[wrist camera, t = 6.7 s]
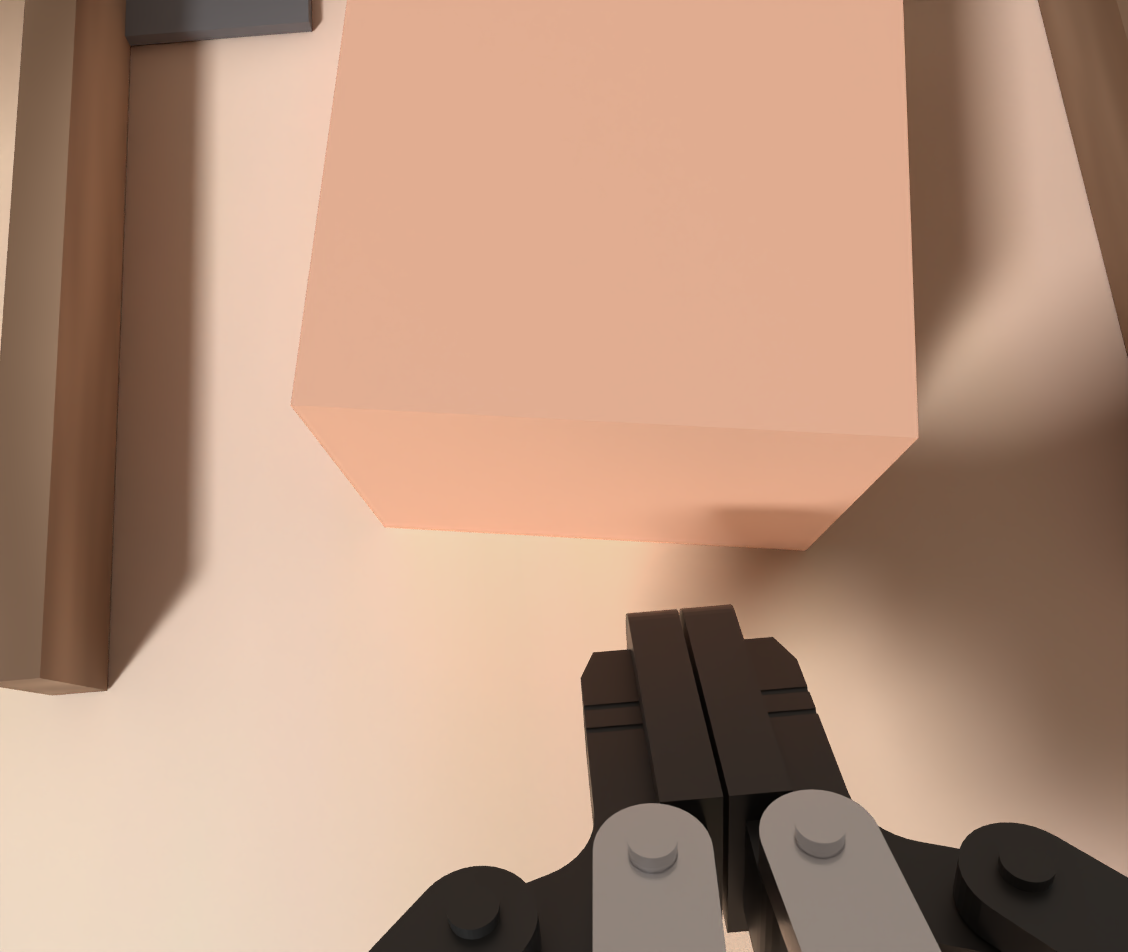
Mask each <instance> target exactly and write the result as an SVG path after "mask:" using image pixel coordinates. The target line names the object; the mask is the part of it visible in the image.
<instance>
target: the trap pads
mask: <svg viewBox="0 0 1128 952" xmlns="http://www.w3.org/2000/svg"><path fill="white" fill-rule="evenodd" d="M309 31H312V6H311V0H126V18H125V38H126V39H127V41H128V43H129V44H130V46H133V45H146V44H158V43H171V42H183V41H196V40H208V39H221V38H233V37H246V36H258V35H271V34H284V33H296V32H309Z"/></svg>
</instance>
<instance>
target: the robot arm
mask: <svg viewBox="0 0 1128 952" xmlns="http://www.w3.org/2000/svg"><path fill="white" fill-rule="evenodd" d="M626 636H627V650H617V651H606V652H594V653H593V654H592V656H591V658H590V660H589V662H588V664H587V666H586V668H585V670H584V672H583V674H582V677H581V688H582V701H583V715H584V728H585V741H586V754H587V766H588V776H589V786H590V797H591V807H592V818H593V832H592V834H591V837H590V839H589V841H588V843H587V845H586V846H585V848H584V849H583V850H582V852H581V853H580V854H579V855H578V856H577V857H576V858H575V859H574V860H572V861H571V862H570V863H569V864H567V865H566V866H564V867H563V868H561V869H559V870H557V871H555V872H553V873H551V874H549V875H546V876H543V877H541V878H538V879H536V880H533V881H531V882H528V883H525V882H524V881H523V880H522V879H521V878H519V877H518V876H516V875H515V874H513V873H511V872H509V871H507V870H505V869H501V868H497V867H490V866H473V867H468V868H463V869H460V870H457V871H454V872H452V873H450V874H448V875H446V876H444V877H442V878H441V879H439V880H438V881H436V882H435V883H434V884H433V885H432V886H430V887H429V888H428V889H427V890H426V891H425V892H424V893H423V894H422V896H421V897H420V898H419V899H418V900H417V901H416V902H415V903H414V904H413V905H412V906H411V907H410V908H409V909H408V910H407V911H406V912H405V914H404V915H403V916H402V917H401V918H400V919H399V920H398V921H397V922H396V923H395V924H394V925H393V926H392V927H391V928H390V929H389V930H388V932H387V933H386V934H385V935H384V936H383V937H382V938H381V939H380V940H379V941H378V942H377V943H376V944H375V945H374V946H373V947H372V948H371V950H370V951H369V952H726V947H725V939H724V931H723V923H722V910H723V914H724V919H725V924H726V928H727V933H730V932H741V931H749V934H750V938H751V943H752V947H753V951H754V952H1128V878H1127V877H1126V876H1124V875H1122V874H1120V873H1119V872H1117V871H1115V870H1114V869H1112V868H1110V867H1108V866H1107V865H1105V864H1103V863H1101V862H1100V861H1098V860H1096V859H1094V858H1093V857H1091V856H1089V855H1088V854H1086V853H1084V852H1082V851H1081V850H1079V849H1077V848H1075V847H1074V846H1072V845H1070V844H1069V843H1067V842H1065V841H1063V840H1062V839H1060V838H1058V837H1056V836H1054V835H1052V834H1050V833H1048V832H1046V831H1044V830H1041V829H1039V828H1036V827H1033V826H1029V825H1025V824H1018V823H995V824H989V825H986V826H983V827H980V828H978V829H976V830H974V831H973V832H972V833H971V834H969V835H968V836H967V837H966V839H965V840H964V841H963V843H962V845H961V847H960V849H957V848H951V847H946V846H940V845H935V844H929V843H923V842H918V841H914V840H910V839H906V838H903V837H900V836H897V835H894V834H892V833H890V832H888V831H886V830H884V829H882V828H881V827H879V826H878V825H877V823H876V822H875V820H874V819H873V817H872V816H871V815H870V814H869V813H868V812H867V811H866V810H865V809H864V808H863V807H862V806H860V805H859V804H858V803H856V802H854V801H853V800H852V799H851V797H850V795H849V793H848V791H847V788H846V786H845V783H844V780H843V778H842V775H841V773H840V770H839V767H838V765H837V762H836V760H835V757H834V754H833V752H832V749H831V747H830V744H829V741H828V739H827V736H826V734H825V731H824V729H823V726H822V723H821V721H820V718H819V716H818V714H816V708H815V705H814V703H813V700H812V697H811V695H810V692H808V690H807V684H806V682H805V679H804V677H803V674H802V671H801V669H800V666H799V664H798V661H797V659H796V658H795V657H794V656H793V655H792V654H791V653H789V652H788V651H787V650H786V649H785V648H784V647H783V646H782V645H781V644H780V643H779V642H778V641H777V640H776V639H774V638H773V637H768V638H756V639H745V640H744V638H743V635H742V632H741V629H740V626H739V623H738V620H737V617H736V614H735V611H734V608H733V606H732V605H720V606H708V607H696V608H684V609H680V612H679V613H678V611H677V609H675V610H663V611H651V612H639V613H627V614H626Z"/></svg>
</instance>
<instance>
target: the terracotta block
mask: <svg viewBox="0 0 1128 952" xmlns="http://www.w3.org/2000/svg"><path fill="white" fill-rule="evenodd" d="M291 406H292V408H293V409H294V410H295V412H296V413H297V414H298V415H299V417H300V418H301V419H302V421H303V422H304V423H305V424H306V426H307V427H308V428H309V430H310V431H311V432H312V434H313V435H314V436H315V437H316V439H317V440H318V441H319V443H320V444H321V445H322V446H323V448H324V449H325V450H326V452H327V453H328V454H329V456H330V457H331V458H332V459H333V461H334V462H335V463H336V465H337V466H338V467H339V469H340V470H341V471H342V472H343V474H344V475H345V476H346V478H347V479H348V480H349V481H350V483H351V484H352V485H353V487H354V488H355V489H356V491H357V492H358V493H359V494H360V496H361V497H362V498H363V500H364V501H365V502H366V504H367V505H368V506H369V507H370V509H371V510H372V511H373V513H374V514H375V515H376V516H377V518H378V519H379V520H380V522H381V523H382V524H383V526H384V527H387V528H405V529H423V530H441V531H460V532H478V533H496V534H514V535H532V536H550V537H568V538H586V539H604V540H622V541H640V542H658V543H676V544H694V545H712V546H730V547H748V548H766V549H785V550H803V551H806V550H807V549H808V548H809V547H810V546H811V545H812V544H813V543H814V542H815V541H816V540H817V539H818V538H819V537H820V536H821V535H822V534H823V533H824V532H825V531H826V530H827V529H828V528H829V527H830V526H831V525H832V524H833V523H834V522H835V521H836V520H837V519H838V518H839V517H840V516H841V515H842V514H843V513H844V512H845V511H846V510H847V509H848V508H849V507H850V506H851V505H852V504H853V503H854V502H855V501H856V500H857V499H858V498H859V497H860V496H861V495H862V494H863V493H864V492H865V491H866V490H867V489H868V488H869V487H870V486H871V485H872V484H873V483H874V482H875V481H876V480H877V479H878V478H879V477H880V476H881V475H882V474H883V473H884V472H885V471H886V470H887V469H888V468H889V467H890V466H891V465H892V464H893V463H894V462H895V461H896V460H897V459H898V458H899V457H900V456H901V455H902V454H903V453H904V452H905V451H906V450H907V449H908V448H909V447H910V446H911V445H912V444H913V443H914V442H915V441H916V440H917V439H918V438H919V436H918V408H917V380H916V352H915V324H914V296H913V268H912V240H911V212H910V184H909V156H908V128H907V99H906V71H905V43H904V15H903V0H347V5H346V12H345V19H344V27H343V34H342V41H341V48H340V55H339V62H338V70H337V77H336V84H335V91H334V98H333V105H332V113H331V120H330V127H329V134H328V141H327V148H326V155H325V163H324V170H323V177H322V184H321V191H320V198H319V206H318V213H317V220H316V227H315V234H314V241H313V249H312V256H311V263H310V270H309V277H308V284H307V292H306V299H305V306H304V313H303V320H302V327H301V335H300V342H299V349H298V356H297V363H296V370H295V378H294V385H293V392H292V399H291Z"/></svg>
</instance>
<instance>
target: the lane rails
mask: <svg viewBox="0 0 1128 952" xmlns="http://www.w3.org/2000/svg"><path fill="white" fill-rule="evenodd" d="M1038 3H1039V7H1040V11H1041V15H1042V19H1043V23H1044V26H1045V30H1046V34H1047V38H1048V42H1049V46H1050V50H1051V54H1052V58H1053V62H1054V66H1055V70H1056V74H1057V78H1058V82H1059V86H1060V90H1061V94H1062V98H1063V102H1064V106H1065V110H1066V114H1067V118H1068V122H1069V126H1070V130H1071V134H1072V137H1073V141H1074V145H1075V149H1076V153H1077V157H1078V161H1079V165H1080V169H1081V173H1082V177H1083V181H1084V185H1085V189H1086V193H1087V197H1088V201H1089V205H1090V209H1091V213H1092V217H1093V221H1094V225H1095V229H1096V233H1097V237H1098V241H1099V245H1100V248H1101V252H1102V256H1103V260H1104V264H1105V268H1106V272H1107V276H1108V280H1109V284H1110V288H1111V292H1112V296H1113V300H1114V304H1115V308H1116V312H1117V316H1118V320H1119V324H1120V328H1121V332H1122V336H1123V340H1124V344H1125V348H1126V352H1127V356H1128V0H1038ZM125 18H126V0H25V9H24V23H23V38H22V52H21V66H20V80H19V95H18V109H17V123H16V137H15V152H14V166H13V180H12V194H11V209H10V223H9V237H8V251H7V266H6V280H5V294H4V308H3V323H2V337H1V351H0V687H3V688H9V689H15V690H22V691H28V692H34V693H41V694H47V695H62V694H74V693H85V692H97V691H107V681H108V654H109V626H110V598H111V571H112V543H113V515H114V487H115V460H116V432H117V404H118V377H119V349H120V321H121V294H122V266H123V238H124V211H125V183H126V155H127V128H128V100H129V72H130V44H129V43H128V41H127V39H126V38H125Z"/></svg>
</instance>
